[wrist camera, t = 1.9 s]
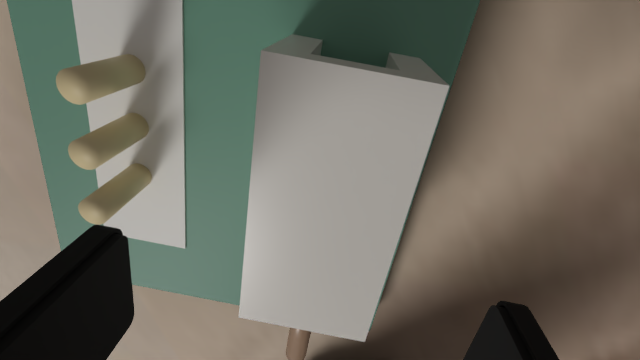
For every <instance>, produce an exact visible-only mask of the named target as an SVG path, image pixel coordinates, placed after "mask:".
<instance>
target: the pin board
mask: <svg viewBox="0 0 640 360" xmlns="http://www.w3.org/2000/svg"><path fill="white" fill-rule="evenodd" d="M479 2H480V0H7V4H8V8H9V13H10V18H11V22H12V27H13V31H14V36H15V41H16V45H17V50H18V54H19V59H20V64H21V68H22V73H23V77H24V82H25V87H26V91H27V96H28V100H29V105H30V110H31V114H32V119H33V123H34V128H35V133H36V137H37V142H38V146H39V151H40V156H41V160H42V165H43V169H44V174H45V179H46V183H47V188H48V192H49V197H50V202H51V206H52V211H53V216H54V220H55V225H56V229H57V234H58V239H59V243H60V248H61V251H62V250H63V249H65V248H66V247H67V246H68V245H69V244H71V243H72V242H73V241H74V240H76V239H77V238H78V237H79V236H80V235H82V234H83V233H84V232H85V231H86V230H88V229H89V228H90V227H92V226H93V225H103V226H108V227H113V228H118V229H121V231H122V233H123V235H124V236H126V237H127V238H128V244H129V256H130V268H131V279H132V284H133V285H138V286H143V287H148V288H153V289H158V290H163V291H168V292H174V293H179V294H184V295H189V296H194V297H199V298H204V299H209V300H215V301H220V302H225V303H230V304H235V305H240V295H241V283H242V271H243V259H244V247H245V235H246V223H247V211H248V199H249V187H250V175H251V163H252V151H253V140H254V128H255V116H256V104H257V92H258V80H259V68H260V56H261V50H263V49H265V48H267V47H268V46H270V45H272V44H274V43H276V42H278V41H280V40H282V39H284V38H286V37H288V36H290V35H292V34H294V35H299V36H305V37H310V38H315V39H321V40H323V42H322V49H321V55H320V56H325V57H331V58H336V59H341V60H347V61H352V62H357V63H362V64H368V65H373V66H378V67H384V68H386V64H387V60H388V55H389V52H390V53H395V54H401V55H406V56H411V57H417V58H420V59H421V60H423V61H424V62H425V63H426V64H427V65H428V66H429V67H430V68H431V69H432V70H433V71H434V72H435V73H436V74H437V75H439V76H440V77H441V78H442V79H443V80H444V81H445V82H446V83H447V84H448V85H449V89H448V92H447V95H446V98H445V101H444V104H443V107H442V110H441V114H440V117H439V120H438V123H437V126H436V129H435V132H434V135H433V138H432V141H431V144H430V147H429V150H428V153H427V156H426V159H425V162H424V165H423V168H422V171H421V174H420V177H419V180H418V183H417V186H416V189H415V192H414V195H413V198H412V201H411V204H410V207H409V210H408V213H407V216H406V219H405V222H404V225H403V228H402V231H401V234H400V237H399V240H398V243H397V246H396V249H395V252H394V255H393V258H392V262H391V265H390V268H389V271H388V274H387V277H386V280H385V283H384V286H383V289H382V292H381V295H380V298H379V301H378V304H377V307H376V310H375V313H374V316H373V319H372V322H371V325H370V328H369V331H370V329H371V326H372V323H373V320H374V317H375V314H376V311H377V308H378V305H379V302H380V299H381V296H382V293H383V290H384V287H385V284H386V281H387V278H388V275H389V272H390V269H391V266H392V263H393V260H394V257H395V254H396V251H397V248H398V245H399V242H400V239H401V236H402V233H403V230H404V227H405V224H406V221H407V218H408V215H409V212H410V209H411V206H412V203H413V200H414V197H415V194H416V191H417V188H418V185H419V182H420V179H421V176H422V173H423V170H424V167H425V164H426V161H427V158H428V155H429V152H430V149H431V146H432V143H433V140H434V137H435V134H436V131H437V128H438V125H439V122H440V119H441V116H442V113H443V110H444V107H445V104H446V101H447V98H448V95H449V92H450V89H451V86H452V83H453V80H454V77H455V74H456V71H457V68H458V65H459V62H460V59H461V56H462V53H463V50H464V47H465V44H466V41H467V38H468V35H469V32H470V29H471V26H472V23H473V20H474V17H475V14H476V11H477V8H478V5H479Z"/></svg>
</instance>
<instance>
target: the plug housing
mask: <svg viewBox="0 0 640 360" xmlns="http://www.w3.org/2000/svg"><path fill="white" fill-rule="evenodd" d="M322 42H323V40H321V39H315V38H310V37H305V36H299V35H294V34H292V35H290V36H288V37H286V38H284V39H282V40H280V41H278V42H276V43H274V44H272V45H270V46H268V47H267V48H265V49H263V50H261V56H260V68H259V80H258V92H257V104H256V116H255V128H254V140H253V151H252V163H251V175H250V187H249V199H248V211H247V223H246V235H245V247H244V259H243V271H242V283H241V295H240V307H239V318H244V319H250V320H255V321H260V322H265V323H270V324H275V325H280V326H285V327H290V331H289V336H288V342H287V347H286V356H287V358H288V360H303V359H304V358H305V356H306V352H307V347H308V343H309V338H310V334H311V332H316V333H321V334H326V335H331V336H336V337H341V338H347V339H352V340H357V341H362V342H365V340H366V337H367V334H368V331H369V328H370V325H371V322H372V319H373V316H374V313H375V310H376V307H377V304H378V301H379V298H380V295H381V292H382V289H383V286H384V283H385V280H386V277H387V274H388V271H389V268H390V265H391V262H392V258H393V255H394V252H395V249H396V246H397V243H398V240H399V237H400V234H401V231H402V228H403V225H404V222H405V219H406V216H407V213H408V210H409V207H410V204H411V201H412V198H413V195H414V192H415V189H416V186H417V183H418V180H419V177H420V174H421V171H422V168H423V165H424V162H425V159H426V156H427V153H428V150H429V147H430V144H431V141H432V138H433V135H434V132H435V129H436V126H437V123H438V120H439V117H440V114H441V110H442V107H443V104H444V101H445V98H446V95H447V92H448V89H449V85H448V84H447V83H446V82H445V81H444V80H443V79H442V78H441V77H440V76H439V75H437V74H436V73H435V72H434V71H433V70H432V69H431V68H430V67H429V66H428V65H427V64H426V63H425V62H424V61H423V60H421V59H420V58H417V57H411V56H406V55H401V54H395V53H390V52H389V55H388V60H387V64H386V68H384V67H378V66H373V65H368V64H362V63H357V62H352V61H347V60H341V59H336V58H331V57H325V56H320V55H321V49H322Z"/></svg>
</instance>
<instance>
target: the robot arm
mask: <svg viewBox="0 0 640 360" xmlns="http://www.w3.org/2000/svg"><path fill="white" fill-rule="evenodd" d="M133 317H134V303H133V291H132V279H131V268H130V256H129V244H128V238H127V237H126V236H124V235H123V233H122V231H121V229H118V228H113V227H108V226H103V225H93V226H92V227H90V228H89V229H88V230H86V231H85V232H84V233H83V234H82V235H80V236H79V237H78V238H77V239H76V240H74V241H73V242H72V243H71V244H69V245H68V246H67V247H66V248H65V249H63V250H62V251H61V252H60V253H59V254H57V255H56V256H55V257H54V258H52V259H51V260H50V261H49V262H48V263H46V264H45V265H44V266H43V267H42V268H40V269H39V270H38V271H37V272H35V273H34V274H33V275H32V276H31V277H29V278H28V279H27V280H26V281H25V282H23V283H22V284H21V285H20V286H18V287H17V288H16V289H15V290H14V291H12V292H11V293H10V294H9V295H8V296H6V297H5V298H4V299H3V300H1V301H0V360H106V359H107V358H108V356H109V355H110V354H111V352H112V351H113V349H114V348H115V346H116V345H117V344H118V342H119V341H120V339H121V338H122V337H123V335H124V334H125V332H126V331H127V329H128V328H129V326H130V325H131V323H132V320H133ZM463 360H559V358H558V357H557V355H556V353H555V352H554V350H553V348H552V347H551V345H550V343H549V342H548V340H547V338H546V336H545V335H544V333H543V331H542V330H541V328H540V326H539V325H538V323H537V321H536V320H535V318H534V316H533V314H532V313H531V311H530V310H529V308H528V307H527V306H525V305H521V304H516V303H511V302H505V301H500V302H498V303H497V305H496V306H495V305H493V306H491V307H490V308H489V310H488V312H487V314H486V316H485V318H484V320H483V322H482V324H481V326H480V328H479V330H478V332H477V334H476V336H475V337H474V339H473V341H472V343H471V345H470V347H469V349H468V351H467V353H466V355H465V357H464V359H463Z"/></svg>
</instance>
